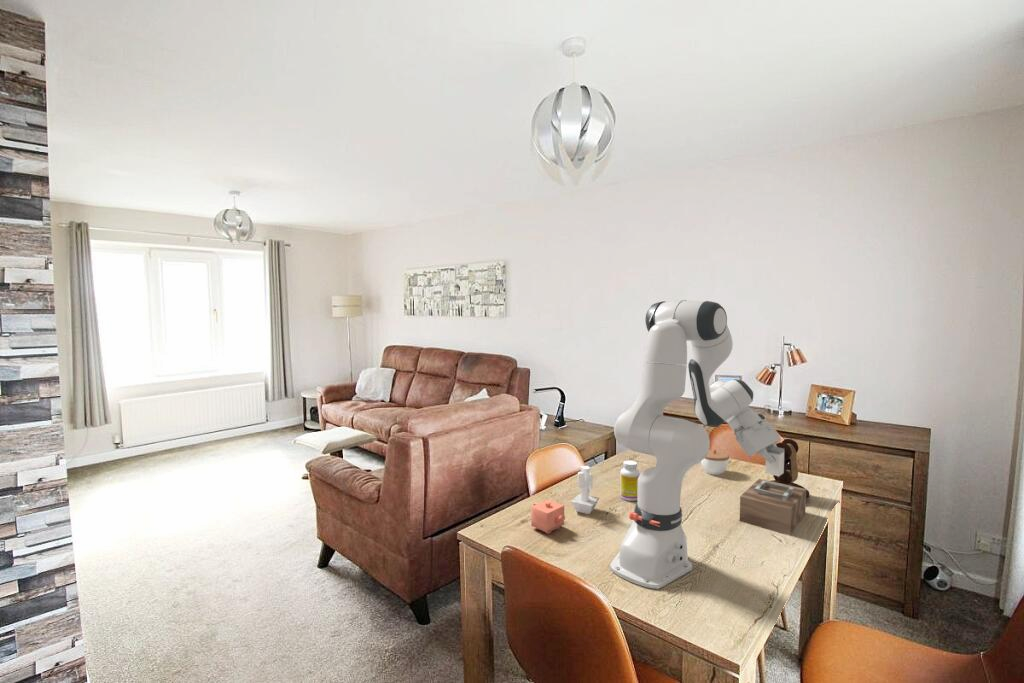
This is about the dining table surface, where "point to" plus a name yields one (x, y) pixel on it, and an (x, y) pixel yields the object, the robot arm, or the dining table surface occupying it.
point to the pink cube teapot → (547, 516)
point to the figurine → (585, 492)
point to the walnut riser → (773, 506)
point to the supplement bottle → (629, 481)
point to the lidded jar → (715, 462)
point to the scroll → (791, 468)
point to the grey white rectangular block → (778, 465)
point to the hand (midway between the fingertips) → (777, 460)
